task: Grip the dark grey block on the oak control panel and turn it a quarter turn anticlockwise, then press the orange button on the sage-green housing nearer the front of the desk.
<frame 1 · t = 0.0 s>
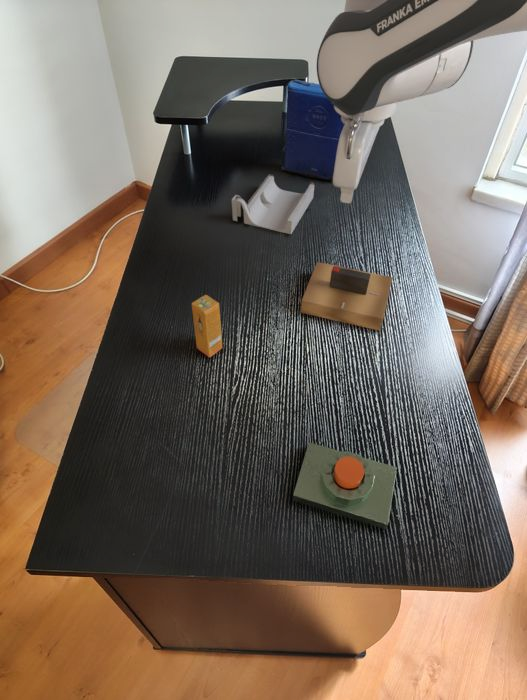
hand: (352, 185, 78), 18 cm above the table, tool pointing down, fingers open, 8 cm apart
supplement box: (210, 348, 79), on the table
start button: (348, 472, 60), point 4 cm above the table, slide at 0.1 cm
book: (310, 174, 115), on the table
dark grey block: (349, 280, 82), point 5 cm above the table, hinge at 0.0°
control panel: (345, 300, 86), on the table
button box: (344, 486, 63), on the table
white curved channel piece: (274, 209, 105), on the table
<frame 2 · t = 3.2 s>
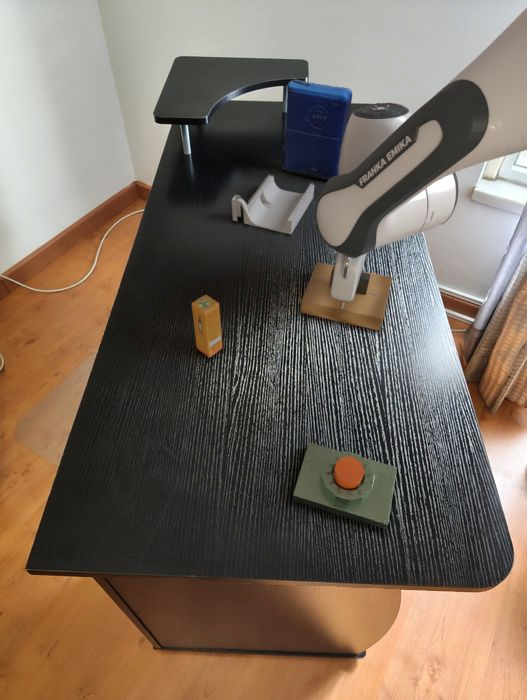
hand: (349, 284, 83), 4 cm above the table, tool pointing down, fingers closed on dark grey block, 2 cm apart
dark grey block: (349, 280, 82), point 5 cm above the table, hinge at 0.0°, touching gripper
everything else where it was.
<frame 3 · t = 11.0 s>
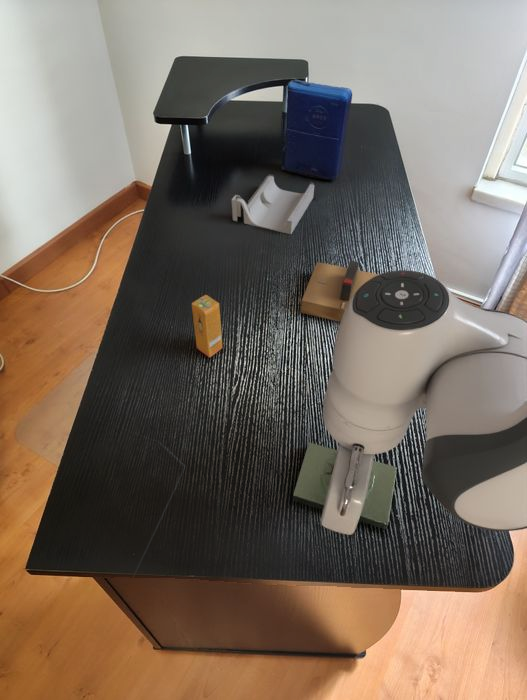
hand: (348, 470, 59), 5 cm above the table, tool pointing down, fingers closed, pressing on start button
start button: (348, 473, 60), point 4 cm above the table, slide at -0.2 cm, touching gripper
dark grey block: (349, 280, 82), point 5 cm above the table, hinge at 89.5°
everything else where it was.
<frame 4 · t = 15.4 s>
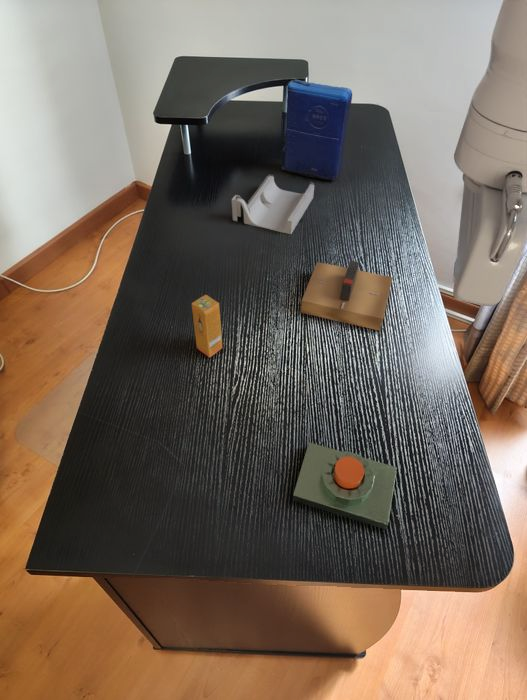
hand: (461, 276, 49), 27 cm above the table, tool pointing down, fingers closed
start button: (348, 472, 60), point 4 cm above the table, slide at 0.1 cm
everything else where it was.
at the end: dark grey block at +90° (first picture: +0°); start button pushed in 1.1 cm at the most during the clip, back to where it started at the end; start button slide at 0.1 cm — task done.
